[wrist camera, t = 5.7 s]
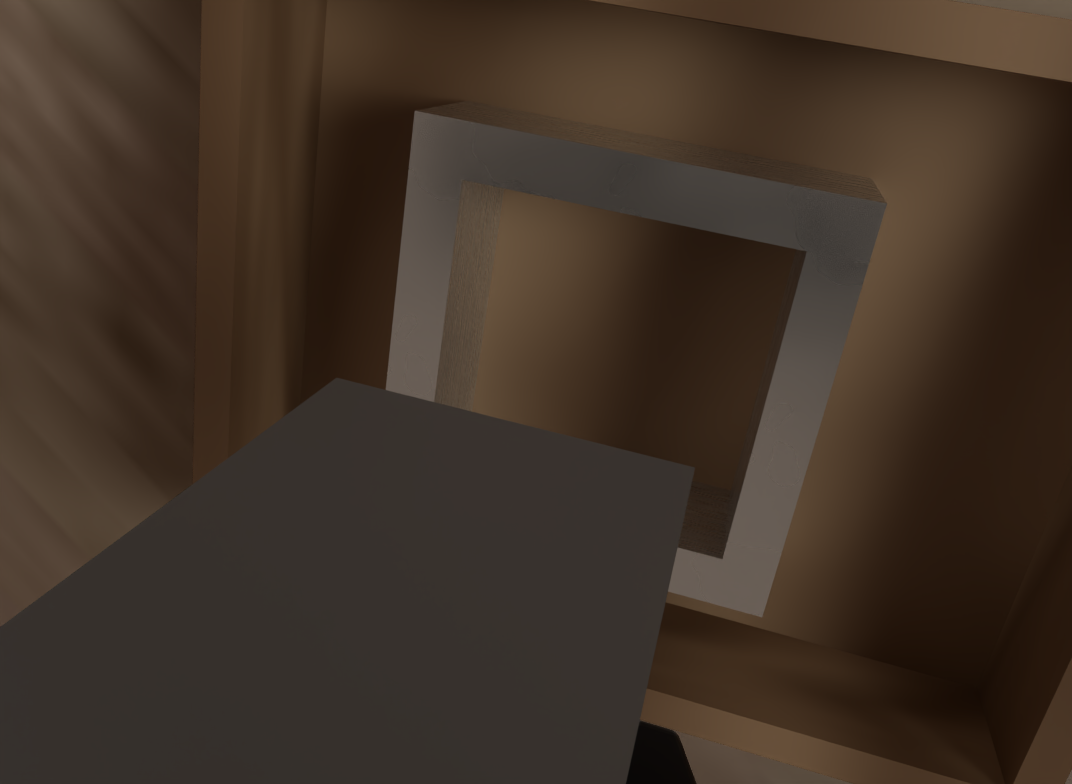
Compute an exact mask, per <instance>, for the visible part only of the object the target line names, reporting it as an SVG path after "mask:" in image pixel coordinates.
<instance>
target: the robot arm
mask: <svg viewBox="0 0 1072 784" xmlns="http://www.w3.org/2000/svg"><path fill="white" fill-rule="evenodd" d="M626 784H696V781H695V779H694V776H693V773H692V770H691V768H690V765H689V762H688V760H687V757H686V754H685V751H684V749H683V746H682V743H681V741H680V738H679V736H678V735H677V733H676V732H674V731H673V730H670V729H667V728H664V727H660V726H657V725H654V724H650V723H647V722H644V721H639V726H638V730H637V735H636V739H635V744H634V749H633V753H632V758H631V762H630V767H629V771H628V776H627V781H626Z"/></svg>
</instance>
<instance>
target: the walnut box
mask: <svg viewBox="0 0 1072 784" xmlns="http://www.w3.org/2000/svg"><path fill="white" fill-rule="evenodd" d="M464 101H473V102H478V103H483V104H488V105H493V106H498V107H504V108H509V109H514V110H519V111H524V112H530V113H535V114H540V115H545V116H550V117H556V118H561V119H566V120H571V121H576V122H581V123H587V124H592V125H597V126H602V127H607V128H613V129H618V130H623V131H628V132H633V133H639V134H644V135H649V136H654V137H659V138H665V139H670V140H675V141H680V142H685V143H690V144H696V145H701V146H706V147H711V148H716V149H722V150H727V151H732V152H737V153H742V154H748V155H753V156H758V157H763V158H768V159H773V160H779V161H784V162H789V163H794V164H799V165H805V166H810V167H815V168H820V169H825V170H831V171H836V172H841V173H846V174H851V175H857V176H862V177H867V178H872V180H873V181H874V183H875V185H876V186H877V188H878V189H879V191H880V193H881V194H882V196H883V198H884V199H885V201H886V202H887V206H886V209H885V212H884V216H883V219H882V222H881V226H880V229H879V232H878V236H877V239H876V242H875V246H874V249H873V252H872V255H871V259H870V262H869V265H868V269H867V272H866V275H865V279H864V282H863V285H862V289H861V292H860V295H859V299H858V302H857V305H856V308H855V312H854V315H853V318H852V322H851V325H850V328H849V332H848V335H847V338H846V342H845V345H844V348H843V352H842V355H841V358H840V361H839V365H838V368H837V371H836V375H835V378H834V381H833V385H832V388H831V391H830V395H829V398H828V401H827V404H826V408H825V411H824V414H823V418H822V421H821V424H820V428H819V431H818V434H817V438H816V441H815V444H814V448H813V451H812V454H811V457H810V461H809V464H808V467H807V471H806V474H805V477H804V481H803V484H802V487H801V491H800V494H799V497H798V500H797V504H796V507H795V510H794V514H793V517H792V520H791V524H790V527H789V530H788V534H787V537H786V540H785V544H784V547H783V550H782V553H781V557H780V560H779V563H778V567H777V570H776V573H775V577H774V580H773V583H772V587H771V590H770V593H769V596H768V600H767V603H766V606H765V610H764V613H763V616H762V617H759V616H755V615H752V614H748V613H744V612H741V611H737V610H733V609H730V608H726V607H723V606H719V605H715V604H712V603H708V602H704V601H701V600H697V599H693V598H690V597H686V596H683V595H679V594H675V593H672V592H668V593H667V598H666V603H665V607H664V612H663V616H662V621H661V625H660V630H659V635H658V639H657V644H656V648H655V653H654V657H653V662H652V666H651V671H650V676H649V680H648V685H647V689H646V694H645V698H644V703H643V708H642V712H641V717H640V720H643V721H646V722H649V723H653V724H656V725H659V726H663V727H666V728H669V729H673V730H676V731H679V732H683V733H686V734H689V735H693V736H696V737H699V738H703V739H706V740H709V741H713V742H716V743H719V744H723V745H726V746H729V747H733V748H736V749H739V750H743V751H746V752H749V753H753V754H756V755H759V756H763V757H766V758H769V759H773V760H776V761H779V762H783V763H786V764H789V765H793V766H796V767H799V768H803V769H806V770H809V771H813V772H816V773H819V774H823V775H826V776H829V777H833V778H836V779H839V780H843V781H846V782H849V783H853V784H1065V782H1066V780H1067V778H1068V776H1069V774H1070V772H1071V770H1072V20H1069V19H1063V18H1057V17H1051V16H1044V15H1038V14H1032V13H1025V12H1019V11H1013V10H1007V9H1000V8H994V7H988V6H981V5H975V4H969V3H963V2H956V1H950V0H202V9H201V62H200V114H199V167H198V220H197V272H196V325H195V378H194V431H193V483H192V485H193V484H194V483H195V482H197V481H198V480H199V479H201V478H202V477H203V476H205V475H206V474H207V473H209V472H210V471H211V470H213V469H214V468H215V467H217V466H218V465H219V464H221V463H222V462H224V461H225V460H226V459H228V458H229V457H230V456H232V455H233V454H234V453H236V452H237V451H238V450H240V449H241V448H242V447H244V446H245V445H246V444H248V443H249V442H250V441H252V440H253V439H254V438H256V437H257V436H259V435H260V434H261V433H263V432H264V431H265V430H267V429H268V428H269V427H271V426H272V425H273V424H275V423H276V422H277V421H279V420H280V419H281V418H283V417H284V416H285V415H287V414H288V413H290V412H291V411H292V410H294V409H295V408H296V407H298V406H299V405H300V404H302V403H303V402H304V401H306V400H307V399H308V398H310V397H311V396H312V395H314V394H315V393H316V392H318V391H319V390H321V389H322V388H323V387H325V386H326V385H327V384H329V383H330V382H331V381H333V380H334V379H335V378H340V379H344V380H348V381H352V382H356V383H360V384H364V385H368V386H372V387H376V388H380V389H384V390H386V382H387V372H388V363H389V353H390V343H391V334H392V324H393V315H394V305H395V295H396V286H397V276H398V267H399V257H400V247H401V238H402V228H403V218H404V209H405V199H406V190H407V180H408V170H409V161H410V151H411V142H412V132H413V122H414V113H415V111H416V110H421V109H426V108H432V107H437V106H442V105H448V104H453V103H458V102H464ZM795 251H796V249H793V248H788V247H783V246H778V245H773V244H769V243H764V242H759V241H754V240H749V239H744V238H740V237H735V236H730V235H725V234H720V233H716V232H711V231H706V230H701V229H696V228H692V227H687V226H682V225H677V224H672V223H668V222H663V221H658V220H653V219H648V218H643V217H639V216H634V215H629V214H624V213H619V212H615V211H610V210H605V209H600V208H595V207H591V206H586V205H581V204H576V203H571V202H567V201H562V200H557V199H552V198H547V197H542V196H538V195H533V194H528V193H523V192H518V191H514V190H509V189H504V193H503V200H502V207H501V214H500V221H499V228H498V235H497V242H496V249H495V256H494V263H493V270H492V277H491V283H490V290H489V297H488V304H487V311H486V318H485V325H484V332H483V339H482V346H481V353H480V360H479V367H478V374H477V381H476V388H475V395H474V402H473V409H472V412H476V413H479V414H483V415H487V416H491V417H495V418H499V419H503V420H507V421H511V422H515V423H519V424H523V425H527V426H531V427H535V428H539V429H543V430H547V431H551V432H555V433H559V434H563V435H567V436H571V437H575V438H579V439H583V440H587V441H591V442H595V443H599V444H603V445H607V446H611V447H615V448H619V449H623V450H627V451H631V452H635V453H639V454H643V455H647V456H651V457H655V458H659V459H663V460H667V461H671V462H675V463H679V464H683V465H687V466H691V467H695V470H694V475H693V479H692V481H696V482H700V483H704V484H708V485H712V486H716V487H720V488H724V489H728V490H731V489H732V485H733V481H734V477H735V474H736V470H737V466H738V463H739V459H740V455H741V452H742V448H743V444H744V440H745V437H746V433H747V429H748V426H749V422H750V418H751V414H752V411H753V407H754V403H755V400H756V396H757V392H758V388H759V385H760V381H761V377H762V374H763V370H764V366H765V363H766V359H767V355H768V351H769V348H770V344H771V340H772V337H773V333H774V329H775V325H776V322H777V318H778V314H779V311H780V307H781V303H782V299H783V296H784V292H785V288H786V285H787V281H788V277H789V274H790V270H791V266H792V262H793V259H794V255H795Z"/></svg>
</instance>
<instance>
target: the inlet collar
mask: <svg viewBox="0 0 1072 784" xmlns="http://www.w3.org/2000/svg"><path fill="white" fill-rule="evenodd" d="M504 189H509V190H514V191H518V192H523V193H528V194H533V195H538V196H542V197H547V198H552V199H557V200H562V201H567V202H571V203H576V204H581V205H586V206H591V207H595V208H600V209H605V210H610V211H615V212H619V213H624V214H629V215H634V216H639V217H643V218H648V219H653V220H658V221H663V222H668V223H672V224H677V225H682V226H687V227H692V228H696V229H701V230H706V231H711V232H716V233H720V234H725V235H730V236H735V237H740V238H744V239H749V240H754V241H759V242H764V243H769V244H773V245H778V246H783V247H788V248H793V249H796V251H795V255H794V259H793V262H792V266H791V270H790V274H789V277H788V281H787V285H786V288H785V292H784V296H783V299H782V303H781V307H780V311H779V314H778V318H777V322H776V325H775V329H774V333H773V337H772V340H771V344H770V348H769V351H768V355H767V359H766V363H765V366H764V370H763V374H762V377H761V381H760V385H759V388H758V392H757V396H756V400H755V403H754V407H753V411H752V414H751V418H750V422H749V426H748V429H747V433H746V437H745V440H744V444H743V448H742V452H741V455H740V459H739V463H738V466H737V470H736V474H735V477H734V481H733V485H732V489H731V490H728V489H724V488H720V487H716V486H712V485H708V484H704V483H700V482H696V481H692V484H691V488H690V493H689V498H688V502H687V507H686V511H685V516H684V520H683V525H682V530H681V534H680V539H679V543H678V548H677V552H676V557H675V562H674V566H673V571H672V575H671V580H670V584H669V589H668V592H672V593H675V594H679V595H683V596H686V597H690V598H693V599H697V600H701V601H704V602H708V603H712V604H715V605H719V606H723V607H726V608H730V609H733V610H737V611H741V612H744V613H748V614H752V615H755V616H759V617H762V616H763V613H764V610H765V606H766V603H767V600H768V596H769V593H770V590H771V587H772V583H773V580H774V577H775V573H776V570H777V567H778V563H779V560H780V557H781V553H782V550H783V547H784V544H785V540H786V537H787V534H788V530H789V527H790V524H791V520H792V517H793V514H794V510H795V507H796V504H797V500H798V497H799V494H800V491H801V487H802V484H803V481H804V477H805V474H806V471H807V467H808V464H809V461H810V457H811V454H812V451H813V448H814V444H815V441H816V438H817V434H818V431H819V428H820V424H821V421H822V418H823V414H824V411H825V408H826V404H827V401H828V398H829V395H830V391H831V388H832V385H833V381H834V378H835V375H836V371H837V368H838V365H839V361H840V358H841V355H842V352H843V348H844V345H845V342H846V338H847V335H848V332H849V328H850V325H851V322H852V318H853V315H854V312H855V308H856V305H857V302H858V299H859V295H860V292H861V289H862V285H863V282H864V279H865V275H866V272H867V269H868V265H869V262H870V259H871V255H872V252H873V249H874V246H875V242H876V239H877V236H878V232H879V229H880V226H881V222H882V219H883V216H884V212H885V209H886V206H887V202H886V201H885V199H884V198H883V196H882V194H881V193H880V191H879V189H878V188H877V186H876V185H875V183H874V181H873V180H872V178H867V177H862V176H857V175H851V174H846V173H841V172H836V171H831V170H825V169H820V168H815V167H810V166H805V165H799V164H794V163H789V162H784V161H779V160H773V159H768V158H763V157H758V156H753V155H748V154H742V153H737V152H732V151H727V150H722V149H716V148H711V147H706V146H701V145H696V144H690V143H685V142H680V141H675V140H670V139H665V138H659V137H654V136H649V135H644V134H639V133H633V132H628V131H623V130H618V129H613V128H607V127H602V126H597V125H592V124H587V123H581V122H576V121H571V120H566V119H561V118H556V117H550V116H545V115H540V114H535V113H530V112H524V111H519V110H514V109H509V108H504V107H498V106H493V105H488V104H483V103H478V102H473V101H464V102H458V103H453V104H448V105H442V106H437V107H432V108H426V109H421V110H416V111H415V113H414V122H413V132H412V142H411V151H410V161H409V170H408V180H407V190H406V199H405V209H404V218H403V228H402V238H401V247H400V257H399V267H398V276H397V286H396V295H395V305H394V315H393V324H392V334H391V343H390V353H389V363H388V372H387V382H386V390H388V391H392V392H396V393H400V394H404V395H408V396H412V397H416V398H420V399H424V400H428V401H432V402H436V403H440V404H444V405H448V406H452V407H456V408H460V409H464V410H468V411H472V409H473V402H474V395H475V388H476V381H477V374H478V367H479V360H480V353H481V346H482V339H483V332H484V325H485V318H486V311H487V304H488V297H489V290H490V283H491V277H492V270H493V263H494V256H495V249H496V242H497V235H498V228H499V221H500V214H501V207H502V200H503V193H504Z"/></svg>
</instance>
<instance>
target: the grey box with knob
mask: <svg viewBox="0 0 1072 784" xmlns="http://www.w3.org/2000/svg"><path fill="white" fill-rule="evenodd" d="M694 470H695V467H691V466H687V465H683V464H679V463H675V462H671V461H667V460H663V459H659V458H655V457H651V456H647V455H643V454H639V453H635V452H631V451H627V450H623V449H619V448H615V447H611V446H607V445H603V444H599V443H595V442H591V441H587V440H583V439H579V438H575V437H571V436H567V435H563V434H559V433H555V432H551V431H547V430H543V429H539V428H535V427H531V426H527V425H523V424H519V423H515V422H511V421H507V420H503V419H499V418H495V417H491V416H487V415H483V414H479V413H476V412H472V411H468V410H464V409H460V408H456V407H452V406H448V405H444V404H440V403H436V402H432V401H428V400H424V399H420V398H416V397H412V396H408V395H404V394H400V393H396V392H392V391H388V390H384V389H380V388H376V387H372V386H368V385H364V384H360V383H356V382H352V381H348V380H344V379H340V378H335V379H334V380H333V381H331V382H330V383H329V384H327V385H326V386H325V387H323V388H322V389H321V390H319V391H318V392H316V393H315V394H314V395H312V396H311V397H310V398H308V399H307V400H306V401H304V402H303V403H302V404H300V405H299V406H298V407H296V408H295V409H294V410H292V411H291V412H290V413H288V414H287V415H285V416H284V417H283V418H281V419H280V420H279V421H277V422H276V423H275V424H273V425H272V426H271V427H269V428H268V429H267V430H265V431H264V432H263V433H261V434H260V435H259V436H257V437H256V438H254V439H253V440H252V441H250V442H249V443H248V444H246V445H245V446H244V447H242V448H241V449H240V450H238V451H237V452H236V453H234V454H233V455H232V456H230V457H229V458H228V459H226V460H225V461H224V462H222V463H221V464H219V465H218V466H217V467H215V468H214V469H213V470H211V471H210V472H209V473H207V474H206V475H205V476H203V477H202V478H201V479H199V480H198V481H197V482H195V483H194V484H193V485H191V486H190V487H188V488H187V489H186V490H184V491H183V492H182V493H180V494H179V495H178V496H176V497H175V498H174V499H172V500H171V501H170V502H168V503H167V504H166V505H164V506H163V507H162V508H160V509H159V510H157V511H156V512H155V513H153V514H152V515H151V516H149V517H148V518H147V519H145V520H144V521H143V522H141V523H140V524H139V525H137V526H136V527H135V528H133V529H132V530H131V531H129V532H128V533H126V534H125V535H124V536H122V537H121V538H120V539H118V540H117V541H116V542H114V543H113V544H112V545H110V546H109V547H108V548H106V549H105V550H104V551H102V552H101V553H100V554H98V555H97V556H95V557H94V558H93V559H91V560H90V561H89V562H87V563H86V564H85V565H83V566H82V567H81V568H79V569H78V570H77V571H75V572H74V573H73V574H71V575H70V576H69V577H67V578H66V579H64V580H63V581H62V582H60V583H59V584H58V585H56V586H55V587H54V588H52V589H51V590H50V591H48V592H47V593H46V594H44V595H43V596H42V597H40V598H39V599H38V600H36V601H35V602H33V603H32V604H31V605H29V606H28V607H27V608H25V609H24V610H23V611H21V612H20V613H19V614H17V615H16V616H15V617H13V618H12V619H11V620H9V621H8V622H7V623H5V624H4V625H2V626H1V627H0V784H626V781H627V776H628V771H629V767H630V762H631V758H632V753H633V749H634V744H635V739H636V735H637V730H638V726H639V721H640V717H641V712H642V708H643V703H644V698H645V694H646V689H647V685H648V680H649V676H650V671H651V666H652V662H653V657H654V653H655V648H656V644H657V639H658V635H659V630H660V625H661V621H662V616H663V612H664V607H665V603H666V598H667V593H668V589H669V584H670V580H671V575H672V571H673V566H674V562H675V557H676V552H677V548H678V543H679V539H680V534H681V530H682V525H683V520H684V516H685V511H686V507H687V502H688V498H689V493H690V488H691V484H692V479H693V475H694Z"/></svg>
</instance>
